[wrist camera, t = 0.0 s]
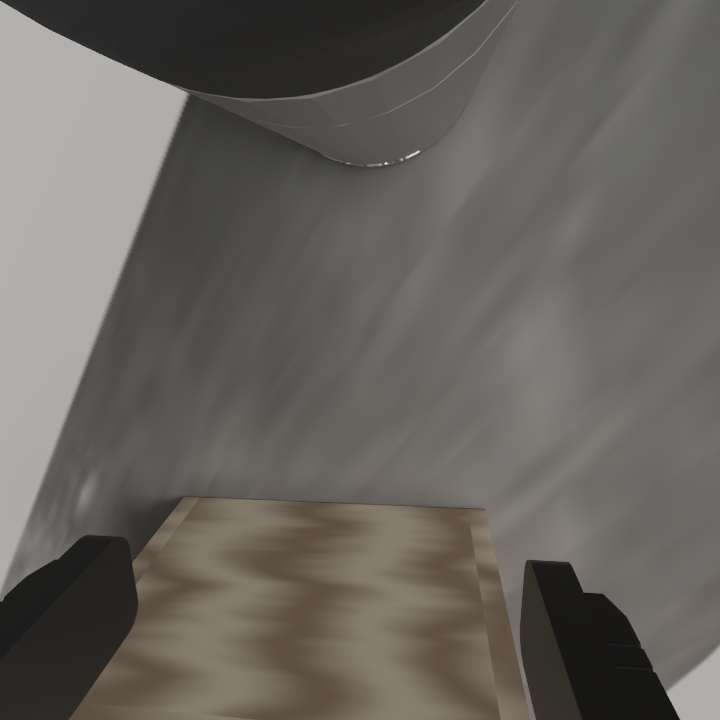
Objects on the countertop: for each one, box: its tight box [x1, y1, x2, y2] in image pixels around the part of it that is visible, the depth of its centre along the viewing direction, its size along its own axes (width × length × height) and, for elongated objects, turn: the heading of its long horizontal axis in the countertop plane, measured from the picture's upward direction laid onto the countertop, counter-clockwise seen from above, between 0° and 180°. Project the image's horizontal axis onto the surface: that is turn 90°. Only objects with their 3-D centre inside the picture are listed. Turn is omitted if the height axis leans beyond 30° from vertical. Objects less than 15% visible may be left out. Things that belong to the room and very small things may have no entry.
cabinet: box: [69, 497, 530, 720], centre depth 25 cm, size 18×14×14 cm
